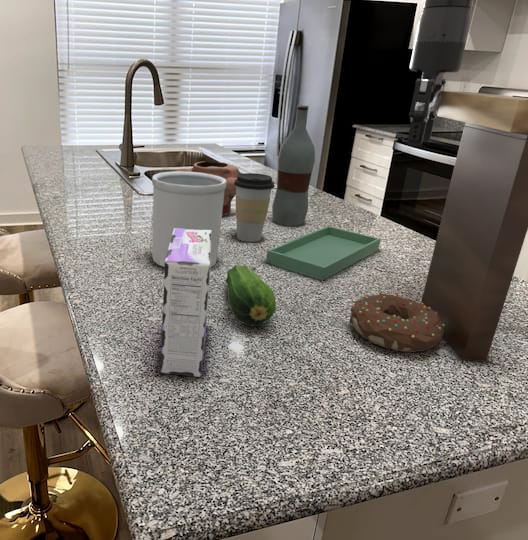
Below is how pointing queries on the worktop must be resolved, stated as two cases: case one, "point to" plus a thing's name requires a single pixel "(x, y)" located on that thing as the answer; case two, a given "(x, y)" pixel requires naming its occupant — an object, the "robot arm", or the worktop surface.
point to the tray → (323, 252)
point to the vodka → (294, 174)
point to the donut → (396, 322)
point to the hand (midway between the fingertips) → (418, 142)
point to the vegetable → (249, 296)
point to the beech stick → (486, 110)
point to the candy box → (185, 301)
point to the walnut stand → (479, 238)
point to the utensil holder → (185, 208)
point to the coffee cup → (252, 204)
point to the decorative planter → (222, 171)
